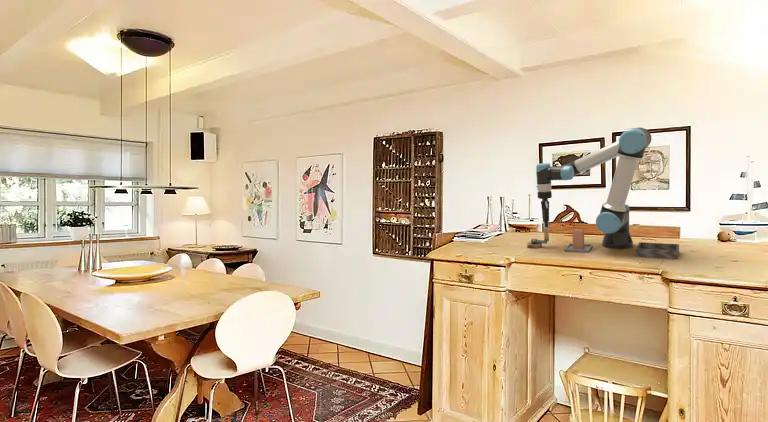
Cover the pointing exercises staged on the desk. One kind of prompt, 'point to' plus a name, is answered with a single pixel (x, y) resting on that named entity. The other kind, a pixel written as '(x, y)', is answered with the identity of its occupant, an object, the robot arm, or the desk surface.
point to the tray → (586, 249)
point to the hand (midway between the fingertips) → (546, 232)
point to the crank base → (534, 245)
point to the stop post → (578, 238)
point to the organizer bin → (657, 250)
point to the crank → (546, 238)
